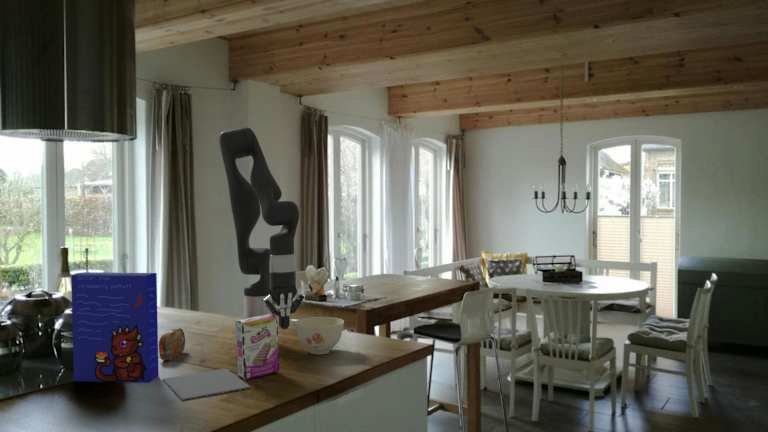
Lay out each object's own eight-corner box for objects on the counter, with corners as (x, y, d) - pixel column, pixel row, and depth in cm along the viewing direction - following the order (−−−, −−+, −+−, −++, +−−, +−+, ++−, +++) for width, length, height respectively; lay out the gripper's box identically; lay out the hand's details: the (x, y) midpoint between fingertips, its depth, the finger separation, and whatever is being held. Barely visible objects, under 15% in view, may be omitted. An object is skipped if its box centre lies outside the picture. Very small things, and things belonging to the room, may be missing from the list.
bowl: (285, 354, 199) (285, 324, 199) (313, 343, 213) (313, 315, 213) (327, 361, 192) (326, 329, 191) (353, 349, 206) (353, 319, 205)
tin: (167, 363, 190) (166, 336, 189) (157, 363, 190) (156, 336, 190) (186, 351, 205) (185, 325, 204) (177, 350, 205) (176, 325, 205)
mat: (225, 370, 182) (225, 368, 182) (250, 388, 166) (250, 386, 166) (162, 380, 173) (162, 378, 173) (181, 400, 156) (181, 398, 156)
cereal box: (158, 376, 176) (156, 272, 175) (148, 383, 170) (146, 275, 169) (86, 374, 179) (83, 271, 177) (73, 381, 173) (71, 274, 171)
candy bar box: (245, 381, 172) (241, 323, 171) (237, 376, 176) (234, 320, 175) (281, 371, 179) (277, 315, 178) (272, 367, 183) (269, 313, 182)
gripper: (297, 266, 187) (299, 323, 188) (256, 270, 180) (258, 329, 180) (308, 268, 181) (310, 327, 181) (266, 273, 173) (268, 334, 174)
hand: (284, 328), depth 181 cm, fingers closed
